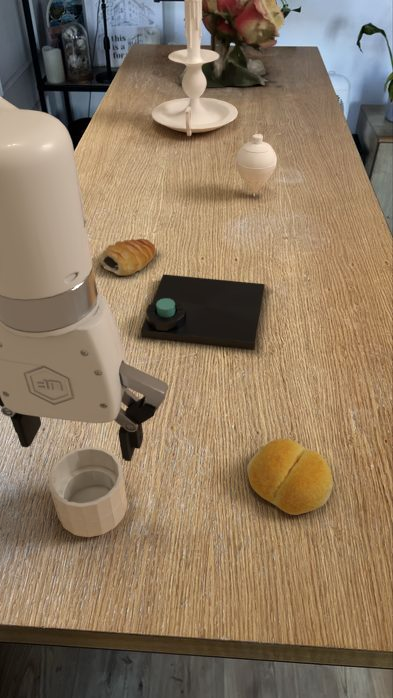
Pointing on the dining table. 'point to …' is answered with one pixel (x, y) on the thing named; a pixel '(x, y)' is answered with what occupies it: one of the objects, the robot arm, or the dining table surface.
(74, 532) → the beige cup
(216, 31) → the rose bouquet
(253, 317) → the scale
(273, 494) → the bread roll
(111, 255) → the pastry
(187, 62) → the candlestick
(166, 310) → the button
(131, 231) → the dining table surface
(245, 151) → the spinning top
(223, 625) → the dining table surface
